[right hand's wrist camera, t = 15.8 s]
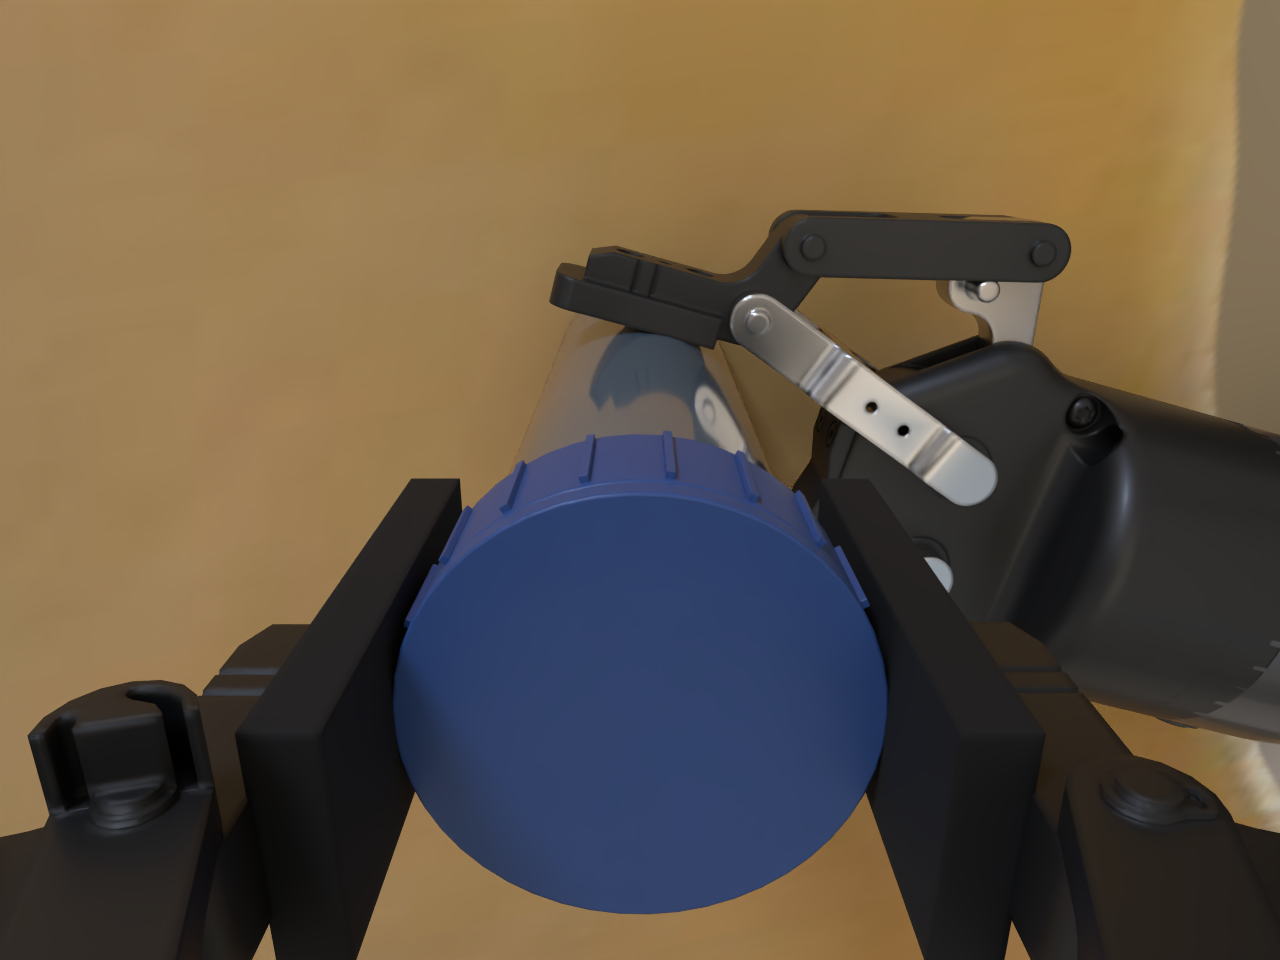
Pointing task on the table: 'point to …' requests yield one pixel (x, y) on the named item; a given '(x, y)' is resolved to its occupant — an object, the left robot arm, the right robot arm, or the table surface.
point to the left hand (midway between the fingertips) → (532, 397)
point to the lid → (640, 678)
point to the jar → (637, 392)
